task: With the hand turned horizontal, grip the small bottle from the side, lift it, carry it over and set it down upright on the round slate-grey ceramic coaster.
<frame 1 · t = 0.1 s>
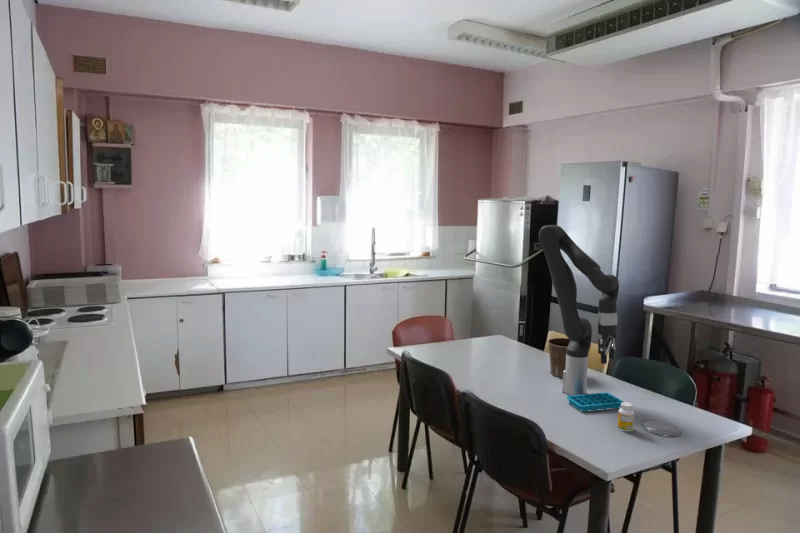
hand: (607, 361, 227), 17 cm above the table, tool pointing down, fingers open, 8 cm apart
plant pot: (563, 375, 263), on the table
ice cube tray: (594, 406, 224), on the table
coaster: (661, 429, 201), on the table
supplement bottle: (625, 429, 201), on the table
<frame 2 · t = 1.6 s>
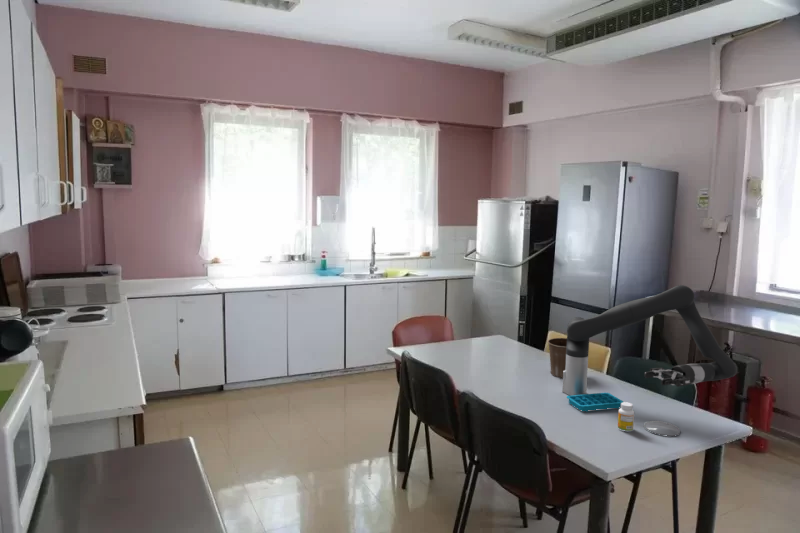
hand: (653, 378, 202), 18 cm above the table, tool horizontal, fingers open, 8 cm apart
nothing on the table moved.
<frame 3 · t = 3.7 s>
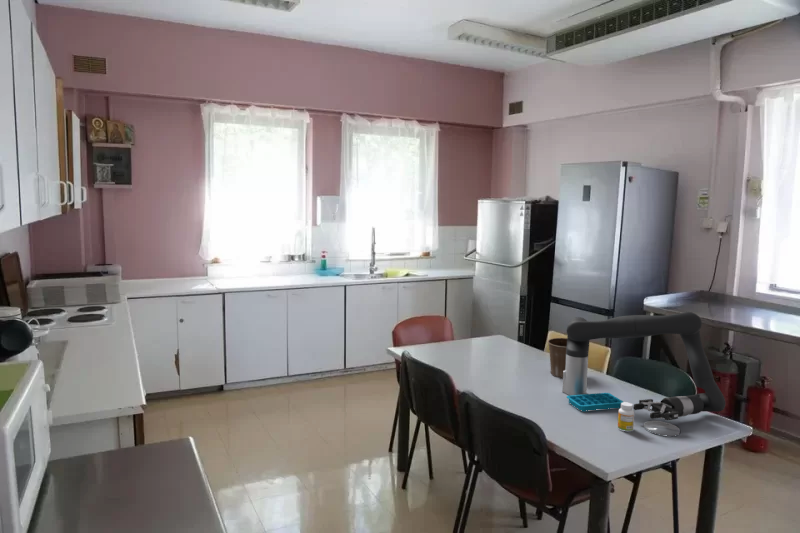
hand: (642, 411, 203), 6 cm above the table, tool horizontal, fingers open, 8 cm apart
nothing on the table moved.
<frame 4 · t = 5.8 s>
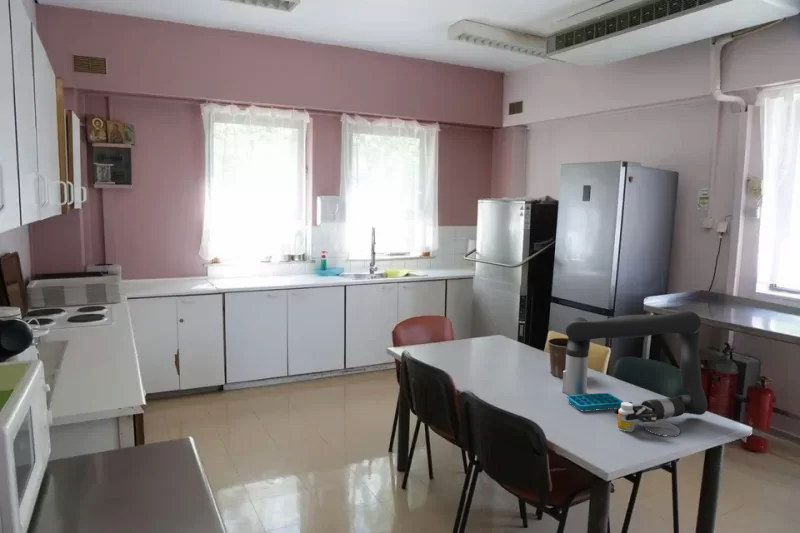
hand: (620, 414, 200), 6 cm above the table, tool horizontal, fingers closed on supplement bottle, 5 cm apart
supplement bottle: (625, 429, 201), on the table, touching gripper
everything else where it was.
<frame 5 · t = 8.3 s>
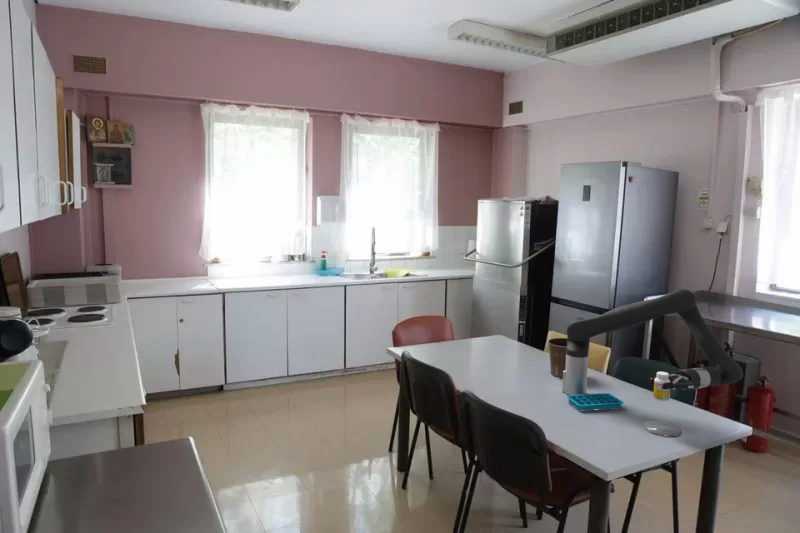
hand: (656, 383, 198), 18 cm above the table, tool horizontal, fingers closed on supplement bottle, 5 cm apart
supplement bottle: (661, 399, 200), point 12 cm above the table, touching gripper
everything else where it was.
when the fingers open (7 cm above the table, at t = 10.9 s): supplement bottle stays where it is, resting on coaster.
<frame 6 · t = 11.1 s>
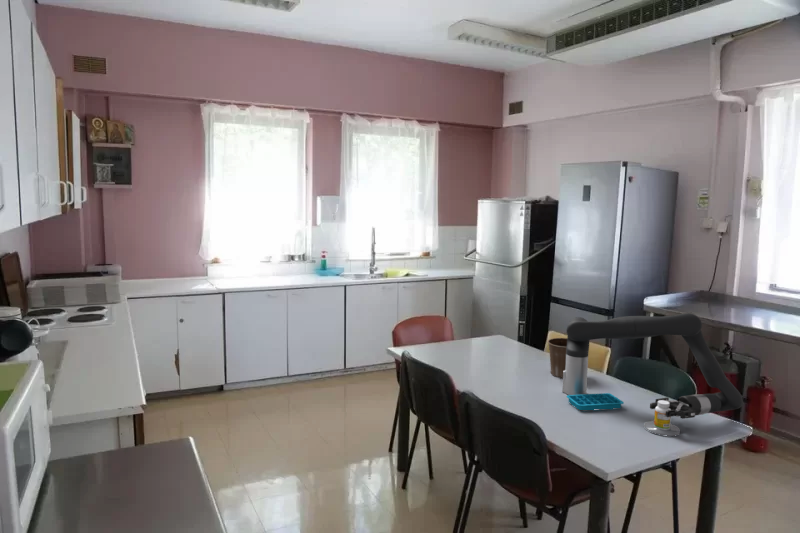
hand: (658, 410, 200), 8 cm above the table, tool horizontal, fingers open, 7 cm apart
supplement bottle: (661, 427, 201), point 1 cm above the table, touching coaster
everything else where it was.
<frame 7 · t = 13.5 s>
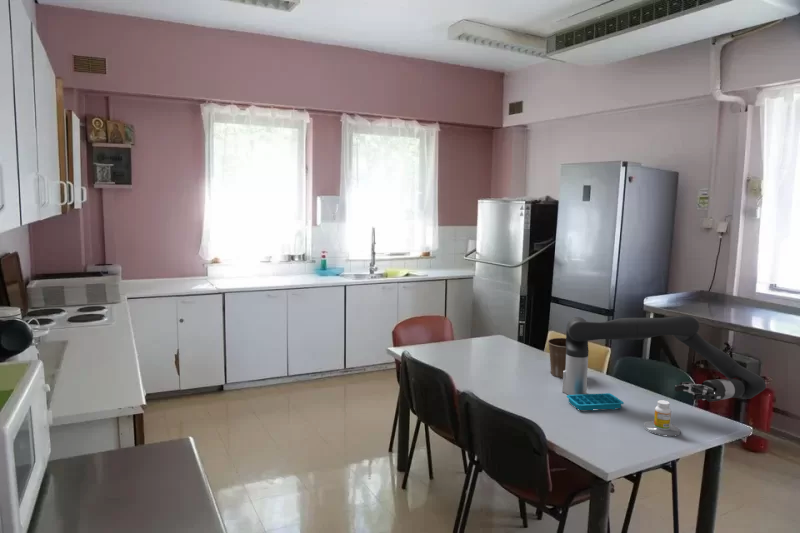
hand: (684, 392, 203), 13 cm above the table, tool horizontal, fingers open, 8 cm apart
nothing on the table moved.
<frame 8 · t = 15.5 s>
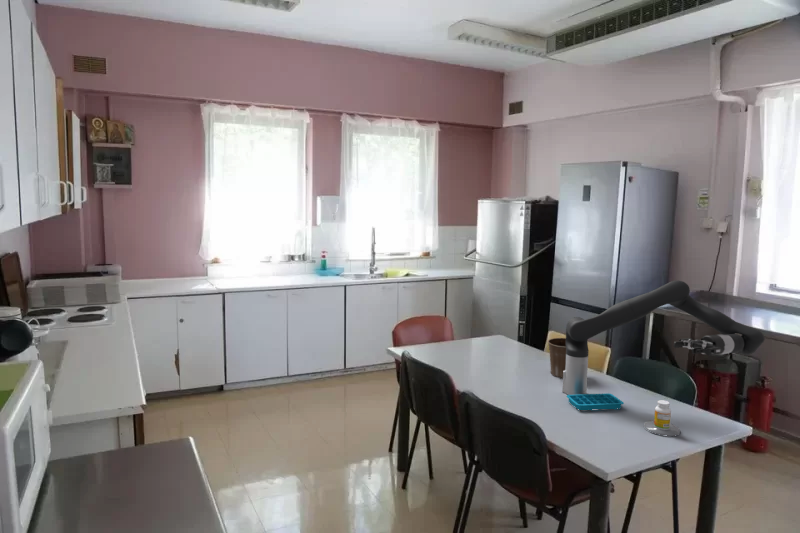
hand: (683, 347, 202), 30 cm above the table, tool horizontal, fingers open, 8 cm apart
nothing on the table moved.
at the end: supplement bottle inside the target area on the coaster (0.1 cm from its centre), point 0.6 cm above the coaster's base; supplement bottle tilted 0°; the gripper is holding nothing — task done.
